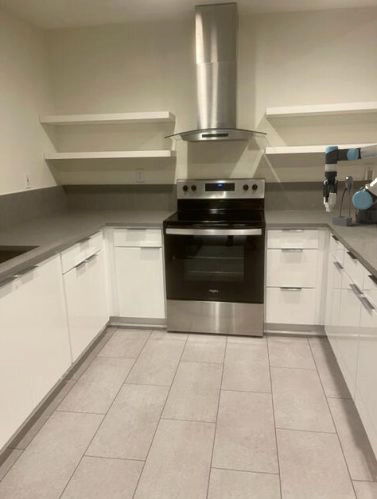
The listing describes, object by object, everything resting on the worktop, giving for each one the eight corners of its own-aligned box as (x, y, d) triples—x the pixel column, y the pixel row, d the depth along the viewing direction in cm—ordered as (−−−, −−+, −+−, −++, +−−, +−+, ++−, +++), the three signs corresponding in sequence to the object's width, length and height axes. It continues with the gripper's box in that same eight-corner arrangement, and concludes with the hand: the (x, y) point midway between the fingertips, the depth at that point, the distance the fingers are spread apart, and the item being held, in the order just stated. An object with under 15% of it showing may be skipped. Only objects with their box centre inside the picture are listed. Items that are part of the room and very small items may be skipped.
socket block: (337, 223, 251) (338, 215, 250) (351, 225, 243) (352, 217, 242) (332, 224, 248) (332, 216, 247) (345, 226, 240) (346, 218, 239)
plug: (327, 210, 255) (328, 192, 253) (335, 211, 250) (336, 193, 248) (323, 211, 253) (324, 193, 250) (331, 212, 248) (332, 193, 245)
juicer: (356, 221, 254) (357, 175, 247) (338, 221, 259) (339, 176, 253) (358, 219, 262) (359, 174, 255) (341, 219, 267) (341, 175, 261)
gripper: (333, 170, 254) (332, 205, 259) (317, 171, 244) (316, 207, 249) (344, 170, 248) (342, 205, 253) (327, 171, 238) (326, 208, 243)
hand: (329, 206), depth 251 cm, fingers closed on plug, 4 cm apart
